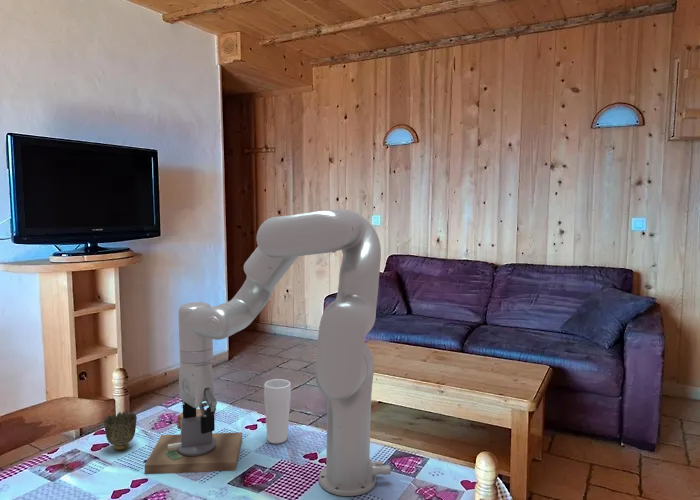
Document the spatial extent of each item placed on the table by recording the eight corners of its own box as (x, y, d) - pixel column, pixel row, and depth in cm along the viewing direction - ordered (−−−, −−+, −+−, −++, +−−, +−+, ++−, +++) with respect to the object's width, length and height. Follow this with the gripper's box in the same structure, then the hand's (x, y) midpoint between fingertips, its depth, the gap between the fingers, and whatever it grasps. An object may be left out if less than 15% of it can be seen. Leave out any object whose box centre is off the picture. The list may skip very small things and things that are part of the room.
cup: (137, 453, 123) (136, 421, 123) (103, 458, 121) (102, 425, 120) (137, 439, 130) (137, 409, 130) (105, 444, 128) (104, 413, 127)
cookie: (199, 412, 148) (199, 402, 148) (220, 423, 141) (220, 413, 141) (167, 423, 141) (167, 412, 140) (189, 435, 134) (188, 424, 134)
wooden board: (241, 439, 131) (242, 431, 131) (235, 470, 116) (235, 461, 116) (161, 442, 129) (161, 434, 129) (144, 473, 114) (144, 464, 114)
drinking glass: (277, 448, 127) (277, 390, 126) (258, 440, 131) (258, 383, 130) (295, 438, 132) (296, 382, 131) (277, 431, 137) (277, 377, 135)
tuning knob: (212, 435, 128) (212, 409, 128) (218, 452, 120) (218, 423, 120) (166, 443, 124) (166, 415, 123) (169, 460, 116) (169, 431, 115)
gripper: (166, 350, 124) (168, 418, 126) (197, 367, 111) (199, 442, 113) (195, 345, 129) (197, 410, 131) (228, 360, 116) (230, 432, 118)
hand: (198, 425), depth 122 cm, fingers open, 9 cm apart
